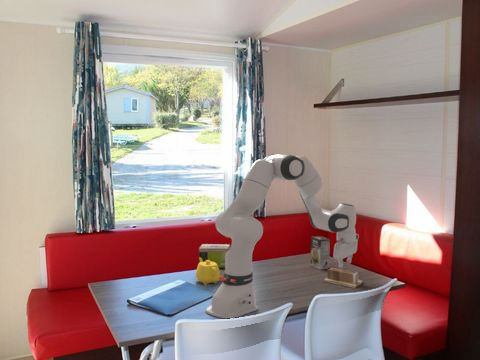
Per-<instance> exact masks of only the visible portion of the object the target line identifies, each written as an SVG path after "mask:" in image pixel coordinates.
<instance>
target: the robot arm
mask: <svg viewBox="0 0 480 360" xmlns="http://www.w3.org/2000/svg"><path fill="white" fill-rule="evenodd" d="M275 179H276V180H279V181H294V183H295V186H297V189H298V190H299V191H298V192H299V195H300V196H299V197H301V200H302V203H303V204H304V206H305V209H306V211H307V213H308V216H309V223H310V225H311V226H312V227H313V228H314V229H316V230H322V231H326V232H330V233H336V243H335V244H334V246H333V253H332V255H333V259H334V260H337V263H338V268H339V269H343V268H344V263H343V261H344V259H346V258H347V259H346V264H351V263H352V258H353V254H356V253H357V251H358V241H359V238H360V236H359V235H360V234H358V233H356V231H357V230H356V224H357V210H356V206H354V205H353V204H349V203H344V202H343V203H339V205H337V207H336V208H334V209H332V210H328V209H325V208H323V207H321V206H320V204H319V202H318V199H317V197H316V195H317V194H318V193H319V192H321V189H322V188H323V181H322V178H321V175H320V174H319V172H318V170H317V169H316V167H315V166H314V164H313V163H312V162H311V160H310V159H309V158H308V157H307V156H305V155H296V156H295V155H292V154H291V155H290V154H281V153H279V154H270V155H267V156H266V157H264V158H263V159H257V160H255V161H254V162H253V164H252V165H251V166H250V168H249V170H248V172H247V174H246V176H245V177H244V180H243V182H242V185H241V187H240V189H239V191H238V193H237V194H236V196H235V198H234V199H233V200H232V203H231V204H229V206H228V207H227V208H226V210H224V211H222V212H221V213H219V214H218V216H216V219H215V225H214V226H215V228H216V230H217V232H218V233H220V234H221V235H222V236H224V237H225V238H230V239H231V244H230V250H229V251H228V252H227V253H226V255H225V273H224V276H219V281H221V282H222V283H221V284H220V286H219V287H218V289H217V290H216V292H215V293H214V294H213V295H212V298H211V304H210V305H209V306H208V307H206V308H205V312H206V313H207V314H209V315H211V316H214V317H217V318H220V319H227V318H233V319H235V317H236V318H238V317H241V316H243V315H246V314H249V313H252V312H254V311H257V310H258V306H257V304H256V295H255V294H256V292H255V288H254V285H253V281H254V280H253V279H254V275H253V271H252V270H253V268H252V267H253V251H254V249H255V245H256V244H257V242H259V240H261V238H262V236H263V233H264V226H263V224H262V222H261V221H259V220H258V219H256V218H255V217H253V216H252V214H254V212H256V211H257V210H258V209H260V208H261V207H262V206H263V204H264V202H265V199H266V197H267V194H268V192H269V190H270V187H271V184H272V182H273V181H274V180H275ZM219 281H218V282H219Z"/></svg>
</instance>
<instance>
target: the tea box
mask: <svg viewBox="0 0 480 360" xmlns="http://www.w3.org/2000/svg"><path fill="white" fill-rule="evenodd" d="M230 248H231V244H230V243H228V244H227V243H225V244H222V243H221V244H219V243H218V244H216V243H215V244H213V243H211V244H210V243H209V244H208V243H205V244H204V243H202V244H201V245H200V246H199V248H198V264H199V263H200V259H199V257H201V258H202V260H203V262H206V260H210V261H212V262H215V263H216V264H217V265H218V268H219V270H220V276H224V273H225V255H226V253H227V252H228V251H229V250H230Z"/></svg>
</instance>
